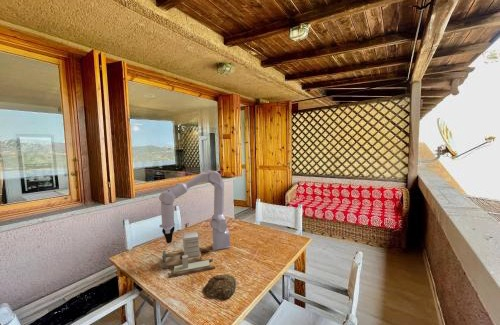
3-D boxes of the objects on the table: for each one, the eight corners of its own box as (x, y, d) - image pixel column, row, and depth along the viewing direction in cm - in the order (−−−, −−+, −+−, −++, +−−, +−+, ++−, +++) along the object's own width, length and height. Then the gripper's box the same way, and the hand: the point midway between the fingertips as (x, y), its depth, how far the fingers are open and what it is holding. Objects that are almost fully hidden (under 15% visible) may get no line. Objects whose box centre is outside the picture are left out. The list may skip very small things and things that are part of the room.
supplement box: (184, 256, 113) (182, 233, 112) (198, 254, 116) (197, 230, 115) (184, 263, 106) (183, 238, 105) (199, 260, 109) (198, 236, 108)
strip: (208, 262, 107) (208, 250, 106) (210, 267, 102) (209, 254, 101) (174, 268, 102) (173, 255, 101) (174, 274, 97) (173, 261, 97)
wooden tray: (199, 252, 117) (199, 243, 116) (201, 261, 107) (201, 251, 107) (164, 258, 111) (163, 249, 111) (162, 268, 102) (161, 258, 101)
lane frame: (209, 250, 120) (209, 248, 119) (214, 268, 101) (214, 266, 101) (170, 256, 113) (170, 254, 113) (169, 277, 95) (169, 275, 95)
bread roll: (239, 281, 91) (238, 269, 91) (231, 301, 79) (231, 288, 79) (210, 279, 94) (209, 267, 93) (198, 298, 81) (198, 286, 81)
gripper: (160, 212, 113) (161, 238, 113) (157, 221, 99) (159, 250, 100) (174, 211, 115) (175, 236, 116) (174, 219, 101) (175, 247, 102)
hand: (169, 242), depth 108 cm, fingers closed
